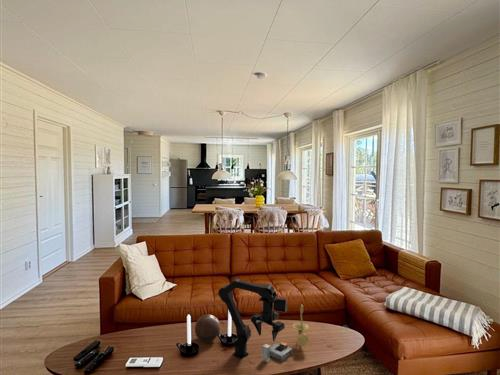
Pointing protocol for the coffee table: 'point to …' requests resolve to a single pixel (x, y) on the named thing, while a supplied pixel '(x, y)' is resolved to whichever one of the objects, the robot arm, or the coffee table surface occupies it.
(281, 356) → the rosette plate
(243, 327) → the robot arm
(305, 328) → the wall sconce
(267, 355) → the wedge pin
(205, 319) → the wooden sphere
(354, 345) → the coffee table surface
